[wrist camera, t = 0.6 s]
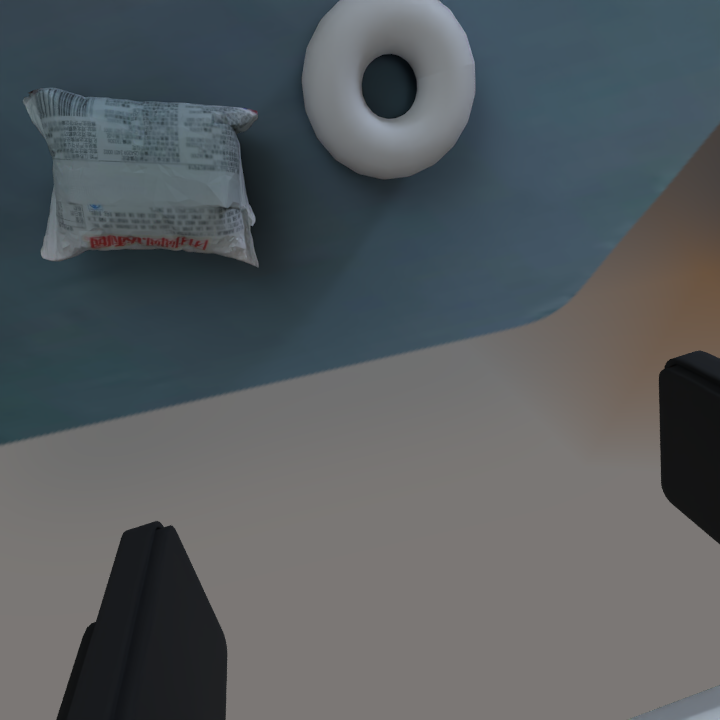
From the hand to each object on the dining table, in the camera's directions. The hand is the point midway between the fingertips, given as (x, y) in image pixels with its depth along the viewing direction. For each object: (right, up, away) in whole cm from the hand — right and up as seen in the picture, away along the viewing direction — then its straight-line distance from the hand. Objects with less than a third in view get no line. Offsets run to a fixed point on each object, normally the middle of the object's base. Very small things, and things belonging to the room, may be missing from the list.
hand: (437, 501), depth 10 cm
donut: (0, +19, +23) cm, 30 cm away
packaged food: (-13, +13, +23) cm, 29 cm away
